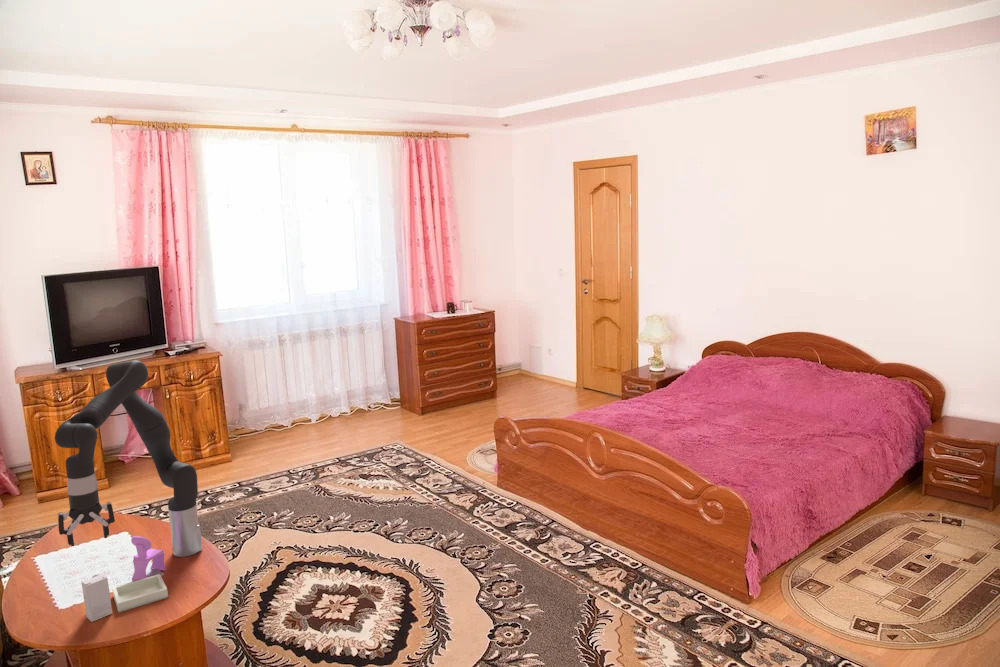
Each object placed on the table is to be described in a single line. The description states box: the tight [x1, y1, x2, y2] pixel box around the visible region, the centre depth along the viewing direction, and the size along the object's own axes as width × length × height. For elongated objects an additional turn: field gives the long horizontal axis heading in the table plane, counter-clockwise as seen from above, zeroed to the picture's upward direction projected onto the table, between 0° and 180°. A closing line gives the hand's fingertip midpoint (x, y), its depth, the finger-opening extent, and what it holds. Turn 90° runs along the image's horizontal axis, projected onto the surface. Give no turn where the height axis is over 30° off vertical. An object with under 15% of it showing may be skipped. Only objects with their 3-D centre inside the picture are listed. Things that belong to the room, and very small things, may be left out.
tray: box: [111, 573, 169, 613], centre depth 222 cm, size 14×12×3 cm
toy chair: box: [130, 535, 167, 581], centre depth 236 cm, size 8×9×15 cm
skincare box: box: [81, 573, 113, 623], centre depth 211 cm, size 6×4×12 cm
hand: (89, 541), depth 208 cm, fingers open, 8 cm apart
